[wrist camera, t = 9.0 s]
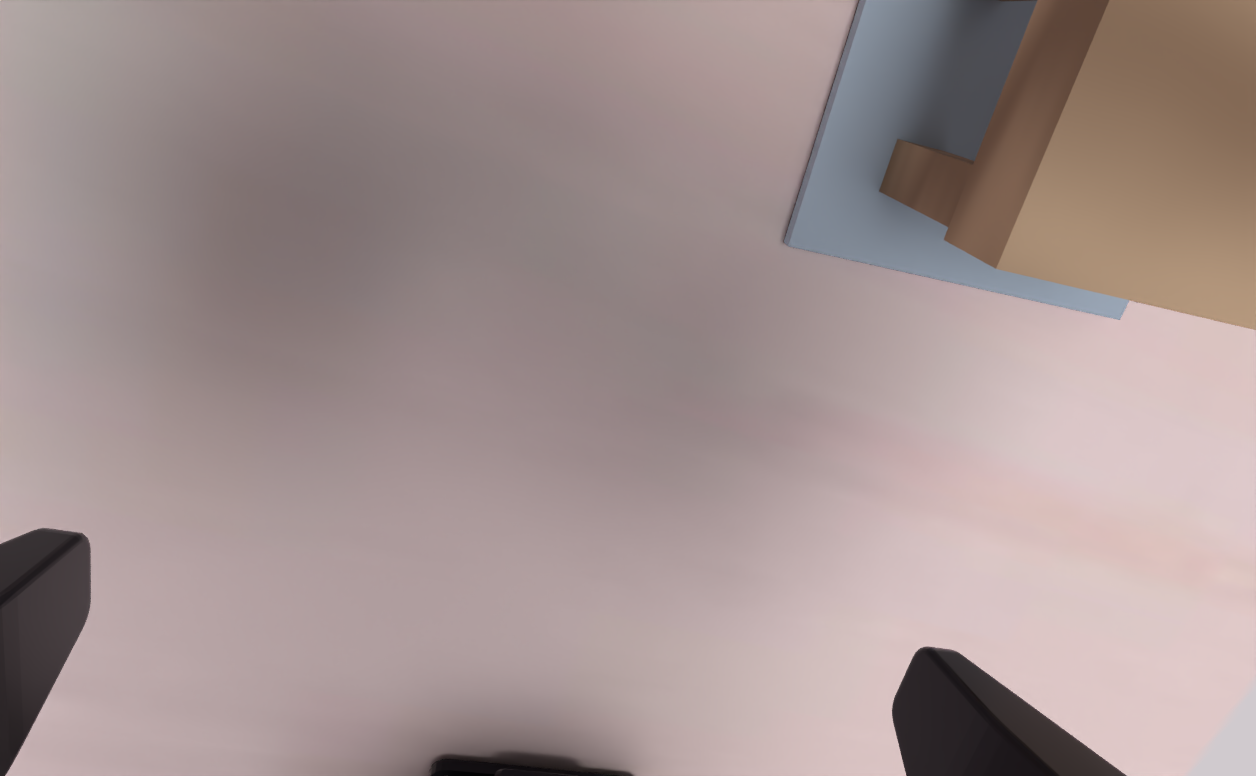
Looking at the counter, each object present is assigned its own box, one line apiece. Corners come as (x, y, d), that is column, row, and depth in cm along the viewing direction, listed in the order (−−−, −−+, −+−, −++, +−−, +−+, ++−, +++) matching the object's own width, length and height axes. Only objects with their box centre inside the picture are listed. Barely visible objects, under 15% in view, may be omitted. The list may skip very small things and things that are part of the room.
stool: (1093, 253, 21) (1293, 338, 15) (867, 197, 20) (995, 268, 14) (1214, -11, 18) (1500, -23, 13) (968, -90, 17) (1167, -138, 12)
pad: (1109, 314, 22) (1119, 320, 21) (783, 241, 20) (788, 246, 20) (1293, -70, 18) (1309, -71, 18) (920, -194, 17) (928, -199, 16)
